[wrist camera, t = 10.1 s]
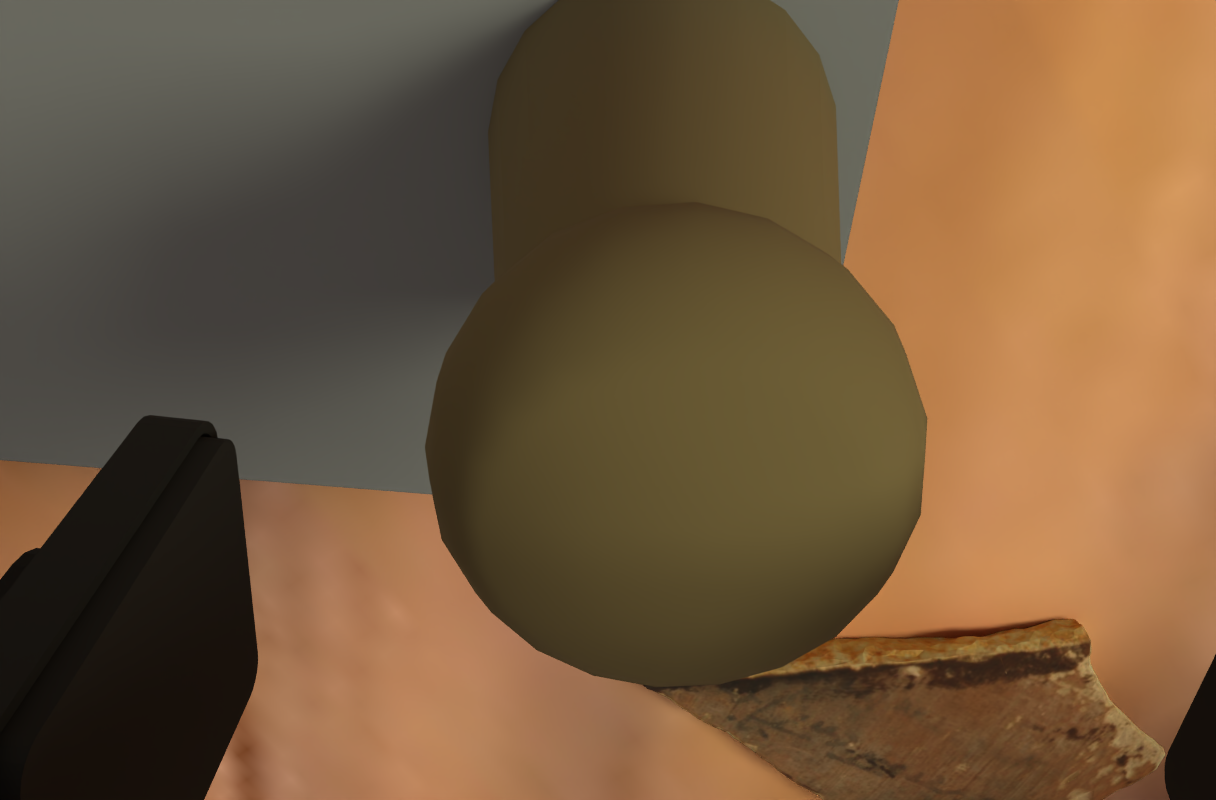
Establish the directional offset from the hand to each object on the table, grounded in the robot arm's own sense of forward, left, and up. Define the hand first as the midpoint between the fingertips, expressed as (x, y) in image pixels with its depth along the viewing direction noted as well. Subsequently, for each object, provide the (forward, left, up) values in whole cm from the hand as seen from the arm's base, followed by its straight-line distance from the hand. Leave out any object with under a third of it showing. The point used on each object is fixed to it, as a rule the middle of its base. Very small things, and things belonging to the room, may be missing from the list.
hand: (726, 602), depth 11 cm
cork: (0, 0, -12) cm, 11 cm away
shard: (-7, +15, -13) cm, 21 cm away
